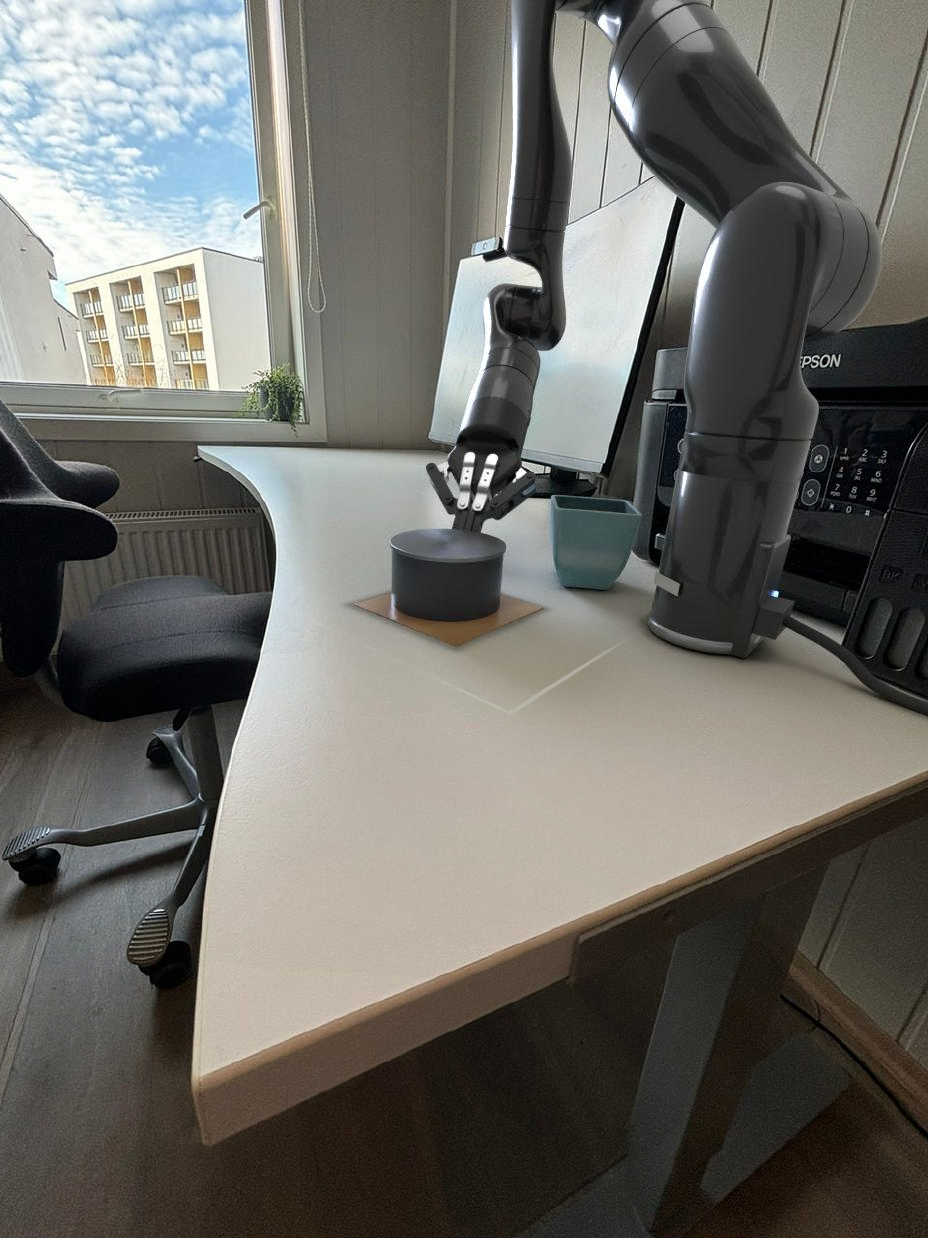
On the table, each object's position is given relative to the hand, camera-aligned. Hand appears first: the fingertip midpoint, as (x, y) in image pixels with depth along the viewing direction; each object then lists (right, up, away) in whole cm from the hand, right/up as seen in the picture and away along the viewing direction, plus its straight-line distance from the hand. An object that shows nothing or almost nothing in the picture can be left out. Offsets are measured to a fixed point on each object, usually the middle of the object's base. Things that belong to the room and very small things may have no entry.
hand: (462, 546), depth 59 cm
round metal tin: (-2, -6, -4) cm, 7 cm away
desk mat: (-1, -6, -5) cm, 8 cm away
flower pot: (+14, -4, +5) cm, 15 cm away
